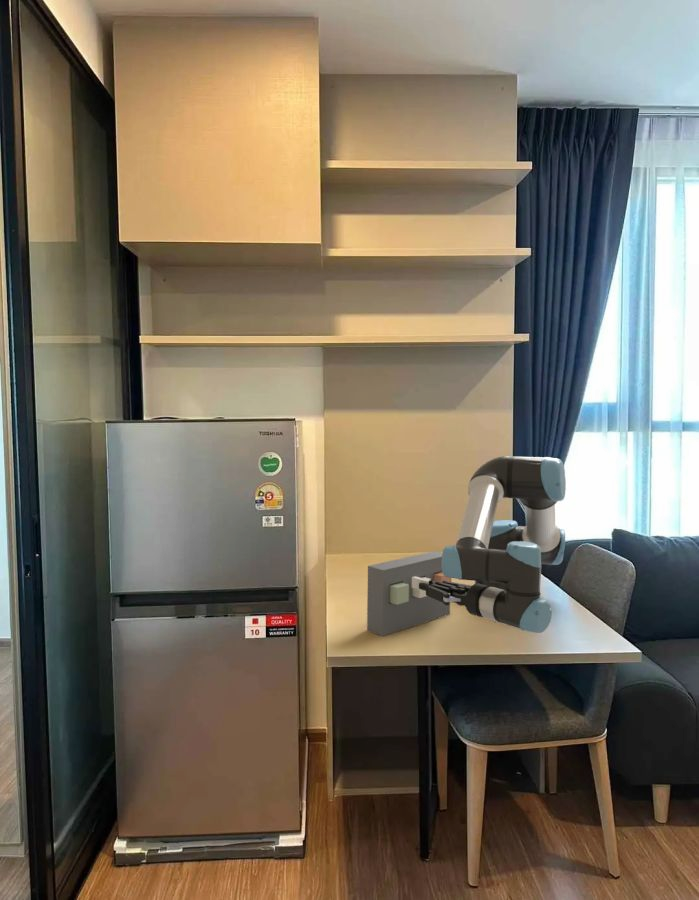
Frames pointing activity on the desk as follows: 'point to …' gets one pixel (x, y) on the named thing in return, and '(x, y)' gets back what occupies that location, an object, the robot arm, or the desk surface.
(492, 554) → the robot arm
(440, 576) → the terracotta button
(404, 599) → the sage green button
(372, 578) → the button panel
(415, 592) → the cream button
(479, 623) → the desk surface
